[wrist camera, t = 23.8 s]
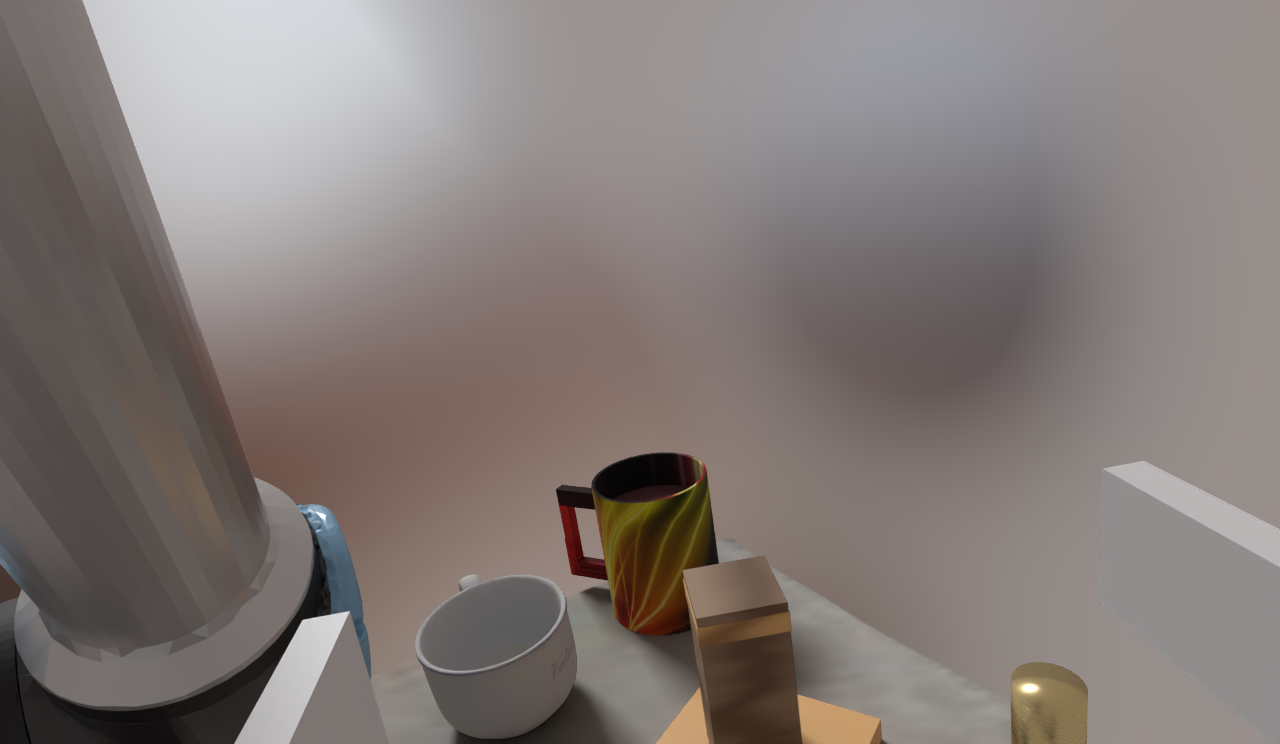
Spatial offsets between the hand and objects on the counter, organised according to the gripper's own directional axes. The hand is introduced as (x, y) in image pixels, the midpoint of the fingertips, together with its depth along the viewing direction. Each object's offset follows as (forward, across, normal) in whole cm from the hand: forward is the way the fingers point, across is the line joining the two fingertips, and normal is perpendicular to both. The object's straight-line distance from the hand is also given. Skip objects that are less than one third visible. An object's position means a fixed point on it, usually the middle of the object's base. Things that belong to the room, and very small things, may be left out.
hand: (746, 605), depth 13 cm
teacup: (+38, -12, -30) cm, 50 cm away
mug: (+47, -1, -30) cm, 56 cm away
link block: (+26, +4, -28) cm, 39 cm away
